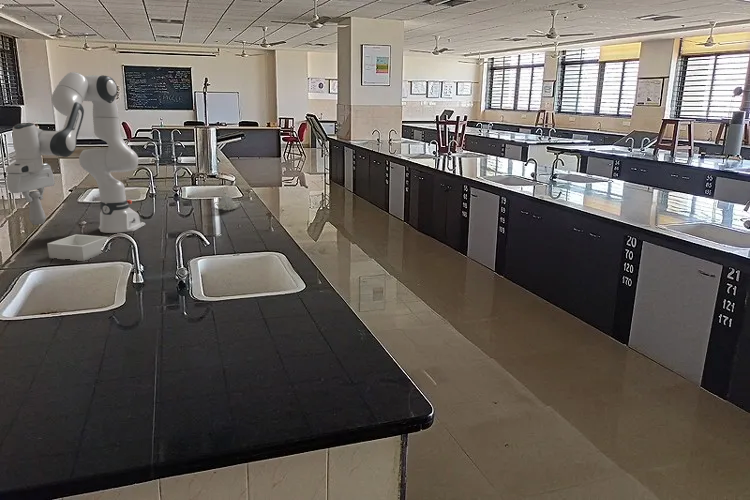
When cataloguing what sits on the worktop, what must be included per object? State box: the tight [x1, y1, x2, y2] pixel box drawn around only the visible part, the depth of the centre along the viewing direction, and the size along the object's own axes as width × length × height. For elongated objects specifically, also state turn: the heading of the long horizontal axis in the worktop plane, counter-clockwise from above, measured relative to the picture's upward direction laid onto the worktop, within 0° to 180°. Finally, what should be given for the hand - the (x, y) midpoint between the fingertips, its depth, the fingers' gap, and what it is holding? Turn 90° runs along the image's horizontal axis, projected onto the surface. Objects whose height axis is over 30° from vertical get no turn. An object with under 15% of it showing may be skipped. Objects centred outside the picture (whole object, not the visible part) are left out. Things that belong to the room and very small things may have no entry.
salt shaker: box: [28, 190, 47, 226], centre depth 230 cm, size 6×6×13 cm
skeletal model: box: [213, 191, 243, 211], centre depth 329 cm, size 16×9×25 cm
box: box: [46, 233, 111, 262], centre depth 237 cm, size 16×16×6 cm
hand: (34, 200), depth 229 cm, fingers closed on salt shaker, 4 cm apart
